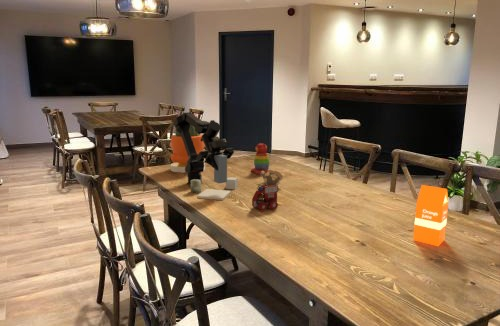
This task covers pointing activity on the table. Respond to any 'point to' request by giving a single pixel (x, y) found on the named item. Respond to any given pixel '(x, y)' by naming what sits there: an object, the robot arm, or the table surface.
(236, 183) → the white cube
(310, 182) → the table surface
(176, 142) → the potted cactus
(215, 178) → the tall block
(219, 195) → the plate
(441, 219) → the orange juice
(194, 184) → the sage cylinder
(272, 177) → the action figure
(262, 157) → the stacking bear
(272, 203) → the toy fire truck
